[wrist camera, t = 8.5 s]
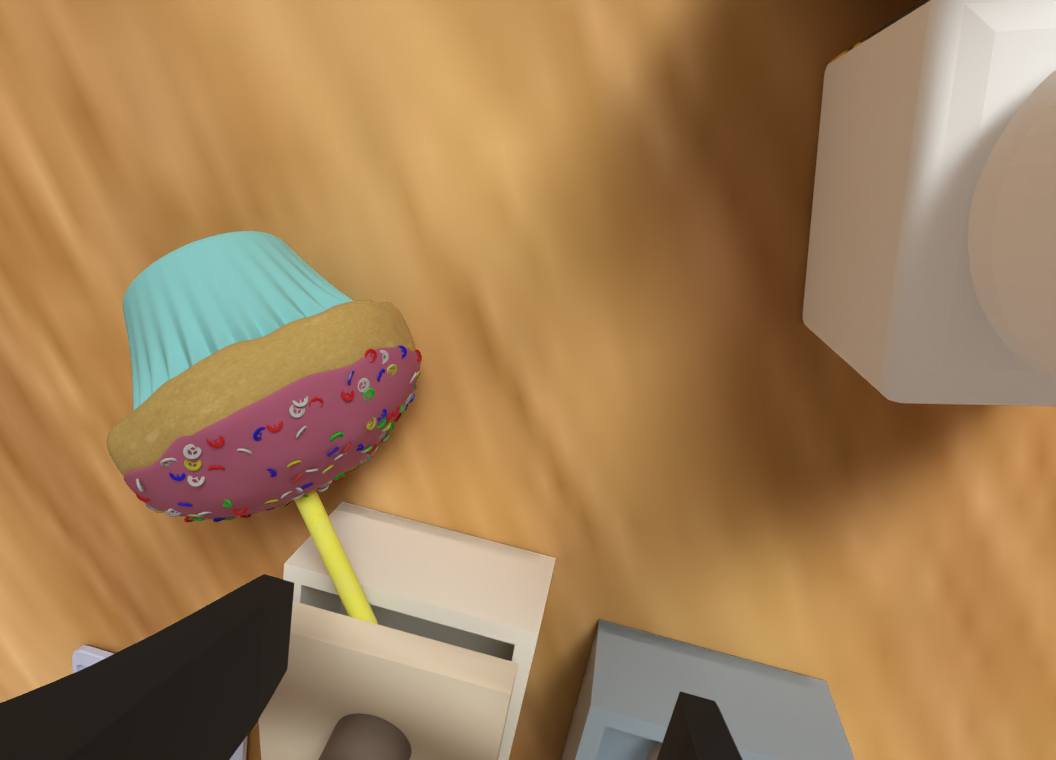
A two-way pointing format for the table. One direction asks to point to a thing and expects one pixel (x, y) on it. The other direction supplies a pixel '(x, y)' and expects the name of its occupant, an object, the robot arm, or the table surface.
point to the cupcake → (257, 388)
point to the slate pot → (733, 683)
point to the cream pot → (436, 587)
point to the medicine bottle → (941, 205)
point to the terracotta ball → (654, 752)
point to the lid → (383, 695)
